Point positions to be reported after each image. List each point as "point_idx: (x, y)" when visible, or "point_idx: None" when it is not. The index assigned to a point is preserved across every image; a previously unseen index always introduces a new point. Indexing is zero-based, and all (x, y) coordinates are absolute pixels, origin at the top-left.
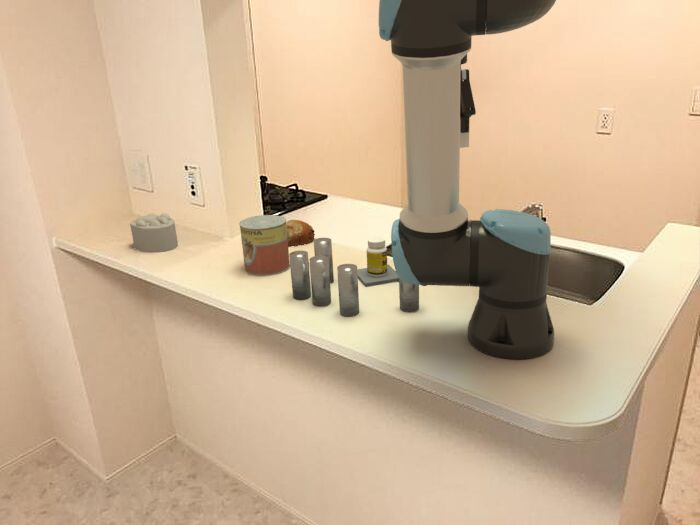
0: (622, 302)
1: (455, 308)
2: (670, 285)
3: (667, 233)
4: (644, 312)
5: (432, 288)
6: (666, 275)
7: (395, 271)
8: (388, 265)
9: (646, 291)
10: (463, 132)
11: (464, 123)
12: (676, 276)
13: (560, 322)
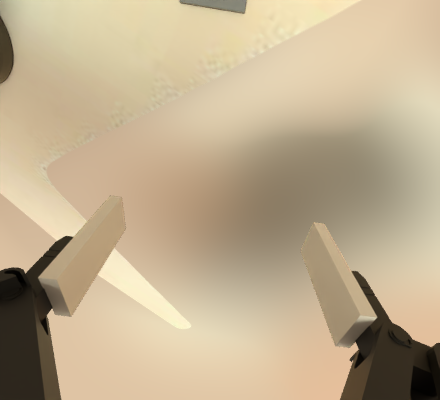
0: (46, 195)
1: (58, 21)
2: None
3: (177, 313)
4: (23, 194)
5: (134, 34)
6: None
7: (209, 5)
8: (240, 9)
9: (66, 225)
10: (64, 238)
11: (35, 267)
12: None
13: (5, 116)
